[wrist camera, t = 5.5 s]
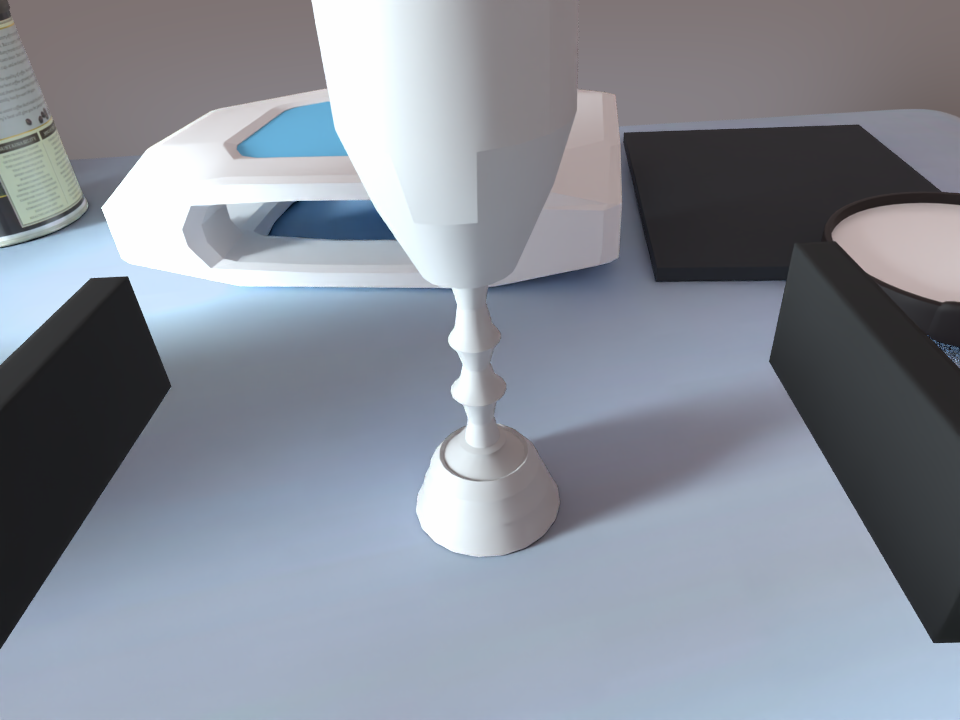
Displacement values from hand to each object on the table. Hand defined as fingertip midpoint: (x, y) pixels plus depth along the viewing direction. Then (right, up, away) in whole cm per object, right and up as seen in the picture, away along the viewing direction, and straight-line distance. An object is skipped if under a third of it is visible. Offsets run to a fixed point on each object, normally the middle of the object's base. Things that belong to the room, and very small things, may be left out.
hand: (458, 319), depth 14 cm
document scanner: (-5, +9, +32) cm, 34 cm away
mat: (+20, +10, +31) cm, 38 cm away
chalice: (+1, -6, +10) cm, 12 cm away
